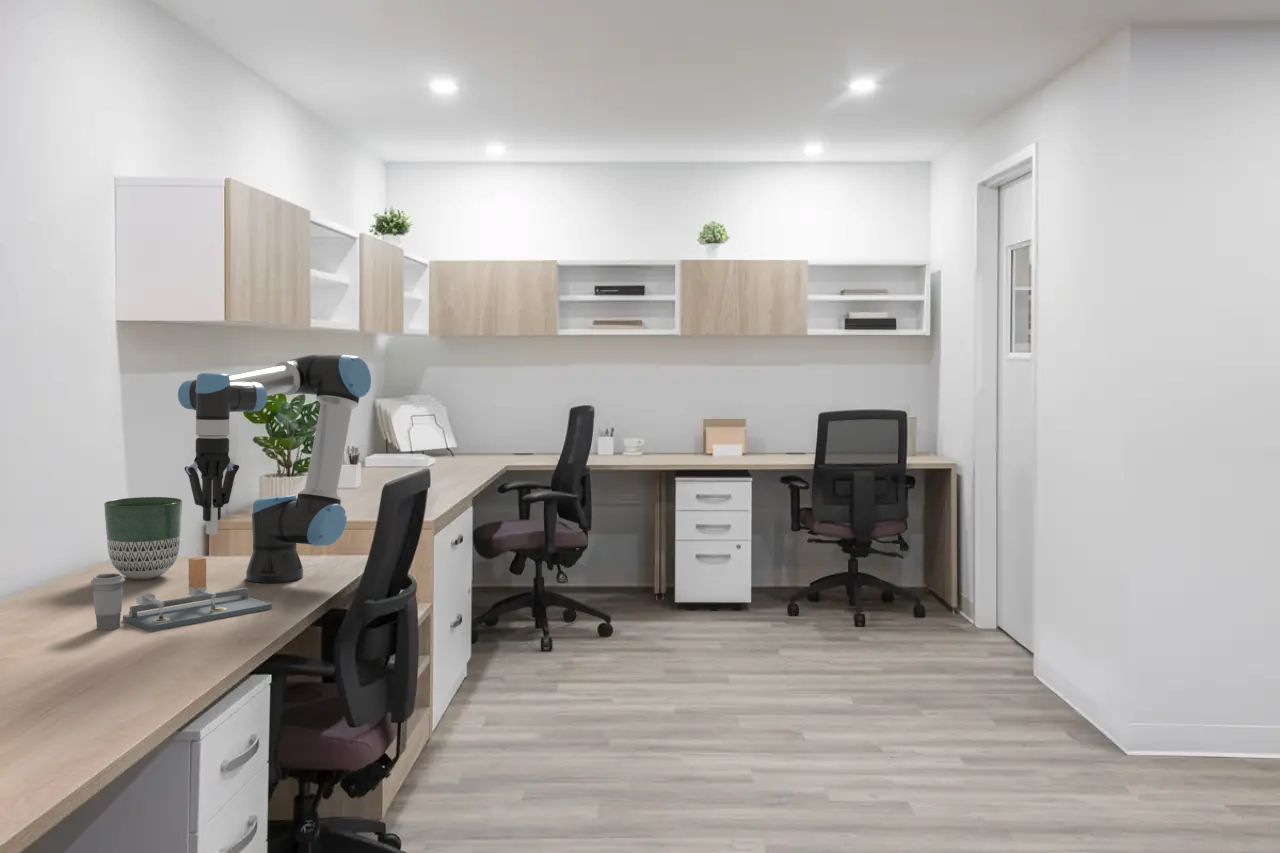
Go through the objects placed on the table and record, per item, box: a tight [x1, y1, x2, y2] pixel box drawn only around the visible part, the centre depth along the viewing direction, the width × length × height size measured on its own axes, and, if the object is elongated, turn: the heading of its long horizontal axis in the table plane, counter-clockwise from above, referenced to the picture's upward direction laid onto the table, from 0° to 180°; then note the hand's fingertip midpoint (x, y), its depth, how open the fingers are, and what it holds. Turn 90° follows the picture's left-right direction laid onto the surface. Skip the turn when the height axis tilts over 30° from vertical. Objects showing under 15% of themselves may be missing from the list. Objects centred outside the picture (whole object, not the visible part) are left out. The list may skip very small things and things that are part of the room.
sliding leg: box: [188, 556, 216, 610], centre depth 252 cm, size 3×10×11 cm, turn 50°
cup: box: [90, 572, 126, 631], centre depth 237 cm, size 7×7×12 cm
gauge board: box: [122, 594, 273, 632], centre depth 251 cm, size 30×14×1 cm, turn 140°
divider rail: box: [128, 587, 250, 619], centre depth 251 cm, size 29×10×5 cm, turn 140°
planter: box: [103, 496, 183, 580], centre depth 290 cm, size 20×20×21 cm
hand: (211, 533), depth 253 cm, fingers closed
